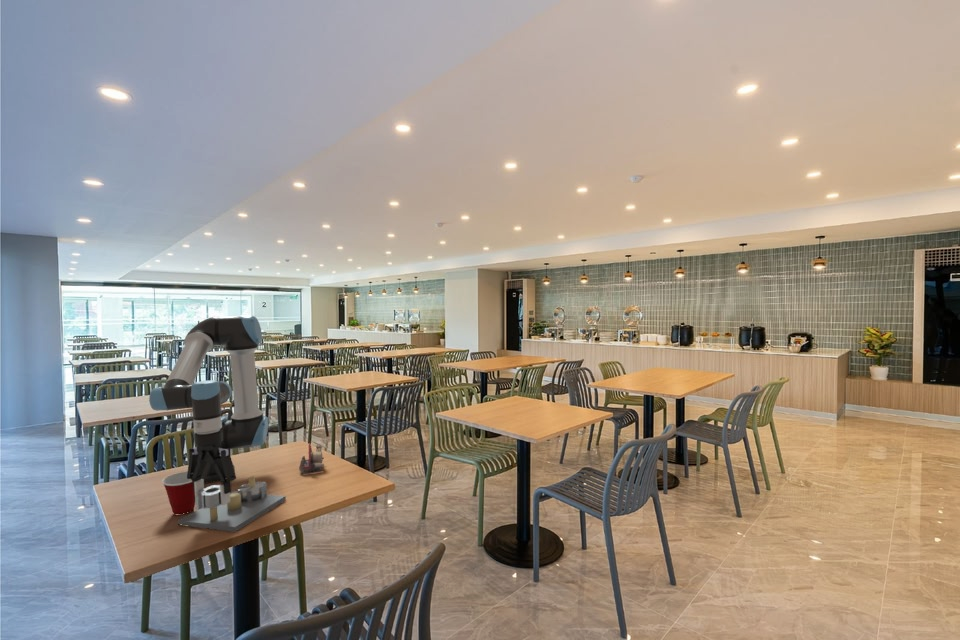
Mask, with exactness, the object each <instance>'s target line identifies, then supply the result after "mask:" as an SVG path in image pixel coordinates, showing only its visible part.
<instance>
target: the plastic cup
mask: <svg viewBox="0 0 960 640" xmlns="http://www.w3.org/2000/svg"><path fill="white" fill-rule="evenodd" d="M187 472H188V470H186V471H179V472H175V473H172V474H169V475H167V476H166V477H164V478H163V479H162V480H161V482H162V485H163V487H164V489H165V490H166V491H165V492H166V494H167V495H166V496H167V497H168V498H167V499H168V501H169V505H170V507H171V511H172V513H174V514H183V513H187V512H189V513H191V512H193V511H194V509H195V506H196V502H195V491H194V487H193V481H192V480H191V479H187ZM192 474H193V473H192ZM192 510H193V511H192ZM190 511H191V512H190ZM174 514H173V515H174ZM187 514H188V513H187Z"/></svg>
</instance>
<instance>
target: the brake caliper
mask: <svg viewBox="0 0 960 640" xmlns="http://www.w3.org/2000/svg"><path fill="white" fill-rule="evenodd" d="M315 447H316V451H313V450H312V445H311V443H310V442H309V443H308V459H306V457H305V455H303V456H302V457H301V461H300V464H299V469H298V470H299V471H300V473H301V474H303V476H307V475H314V474H321V473H324V470H323V471H321V469H322V468H323V467H324V466H325V463H324V462H323V461H324V458H325V457H323V451H322V448H323V447H322V445H321V444H320V445H319V444H316V446H315Z"/></svg>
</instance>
